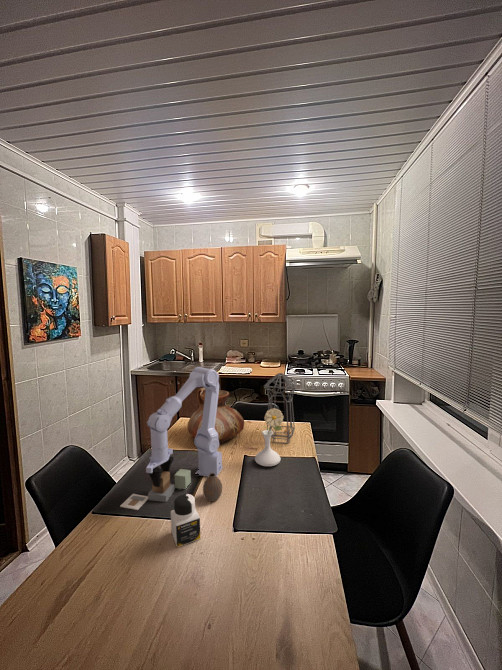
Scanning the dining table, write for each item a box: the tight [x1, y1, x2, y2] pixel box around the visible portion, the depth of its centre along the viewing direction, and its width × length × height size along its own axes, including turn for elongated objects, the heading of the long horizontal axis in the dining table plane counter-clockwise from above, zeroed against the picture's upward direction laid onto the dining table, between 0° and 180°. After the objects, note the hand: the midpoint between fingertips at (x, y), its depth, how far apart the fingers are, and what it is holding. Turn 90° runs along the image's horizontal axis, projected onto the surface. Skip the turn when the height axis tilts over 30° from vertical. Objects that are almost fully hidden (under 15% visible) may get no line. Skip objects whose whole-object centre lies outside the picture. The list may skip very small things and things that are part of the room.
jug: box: [187, 387, 245, 444], centre depth 160 cm, size 30×30×25 cm
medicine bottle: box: [170, 493, 201, 548], centre depth 90 cm, size 7×7×12 cm
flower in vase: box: [254, 407, 284, 467], centre depth 132 cm, size 13×11×25 cm
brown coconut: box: [202, 473, 223, 502], centre depth 109 cm, size 7×7×9 cm
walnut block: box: [151, 471, 171, 493], centre depth 111 cm, size 4×4×6 cm
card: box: [119, 493, 149, 511], centre depth 107 cm, size 7×7×1 cm
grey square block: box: [147, 483, 175, 503], centre depth 111 cm, size 7×7×3 cm
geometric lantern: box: [263, 372, 297, 444], centre depth 155 cm, size 16×16×35 cm
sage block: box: [173, 468, 192, 490], centre depth 116 cm, size 4×4×6 cm
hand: (161, 481), depth 111 cm, fingers open, 5 cm apart
